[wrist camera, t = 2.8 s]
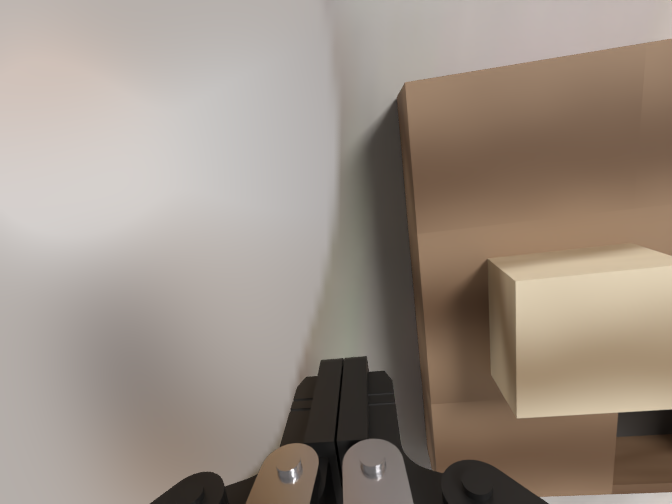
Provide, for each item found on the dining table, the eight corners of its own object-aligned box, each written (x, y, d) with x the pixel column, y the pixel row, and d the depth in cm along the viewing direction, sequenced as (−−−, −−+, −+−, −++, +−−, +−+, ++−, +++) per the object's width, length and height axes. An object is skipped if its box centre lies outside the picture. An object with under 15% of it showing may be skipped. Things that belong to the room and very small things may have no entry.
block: (487, 258, 13) (515, 281, 11) (631, 243, 12) (694, 263, 10) (490, 374, 14) (516, 418, 12) (621, 365, 14) (676, 408, 11)
